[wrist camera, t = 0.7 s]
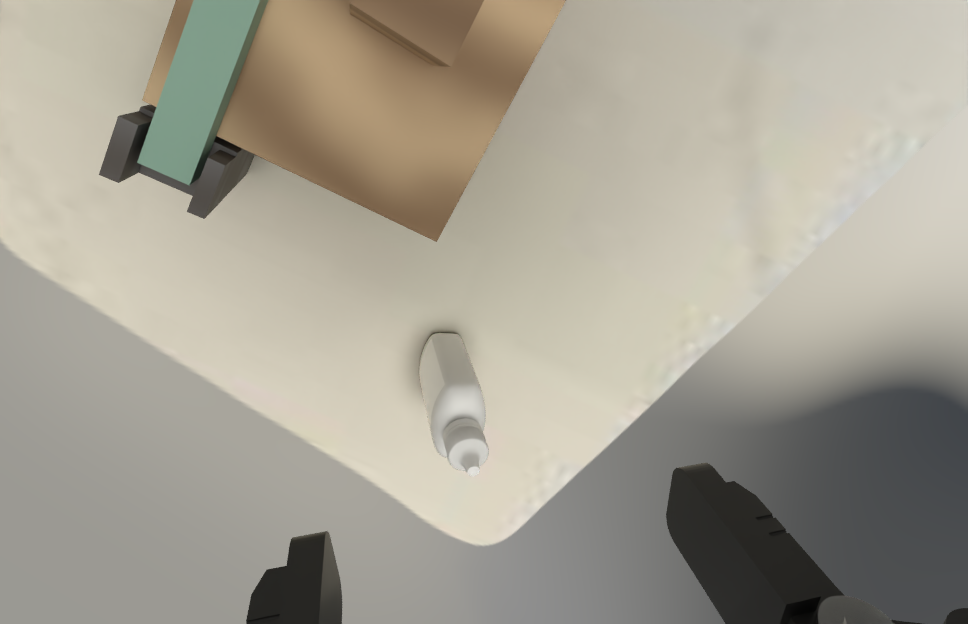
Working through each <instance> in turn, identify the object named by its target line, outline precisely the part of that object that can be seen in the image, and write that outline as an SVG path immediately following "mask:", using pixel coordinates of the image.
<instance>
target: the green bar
mask: <svg viewBox="0 0 968 624" xmlns="http://www.w3.org/2000/svg"><path fill="white" fill-rule="evenodd" d="M267 3H268V0H194V1H193V3H192V6H191V9H190V12H189V15H188V18H187V21H186V24H185V26H184V29H183V32H182V35H181V38H180V41H179V44H178V47H177V49H176V52H175V55H174V58H173V61H172V64H171V67H170V70H169V72H168V75H167V78H166V81H165V84H164V87H163V90H162V93H161V96H160V98H159V101H158V104H157V107H156V110H155V113H154V116H153V119H152V121H151V124H150V127H149V130H148V133H147V136H146V139H145V142H144V144H143V147H142V150H141V153H140V156H139V159H138V162H137V163H139V164H141V165H144V166H146V167H148V168H151V169H153V170H155V171H157V172H160V173H162V174H164V175H167V176H169V177H171V178H173V179H176V180H178V181H180V182H182V183H185V184H187V185H191V184H192V183H193V182H195V181H196V180H197V179H199V178H200V176H201V174H202V171H203V169H204V166H205V163H206V161H207V158H208V156H209V153H210V151H211V148H212V145H213V143H214V140H215V138H216V135H217V132H218V130H219V127H220V125H221V122H222V119H223V117H224V114H225V112H226V109H227V106H228V104H229V101H230V99H231V96H232V93H233V91H234V88H235V86H236V83H237V80H238V78H239V75H240V73H241V70H242V67H243V65H244V62H245V60H246V57H247V54H248V52H249V49H250V47H251V44H252V41H253V39H254V36H255V34H256V31H257V28H258V26H259V23H260V21H261V18H262V16H263V13H264V10H265V8H266V5H267Z"/></svg>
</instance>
